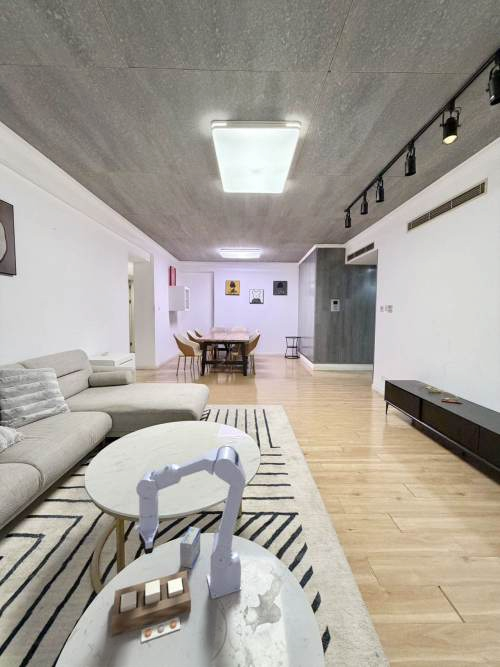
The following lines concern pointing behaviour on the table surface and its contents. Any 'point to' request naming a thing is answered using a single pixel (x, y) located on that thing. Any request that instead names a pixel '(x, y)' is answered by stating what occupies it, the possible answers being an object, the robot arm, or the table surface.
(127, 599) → the button
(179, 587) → the button
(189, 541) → the medicine box
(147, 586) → the button middle
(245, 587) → the table surface
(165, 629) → the pattern card
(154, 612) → the board
